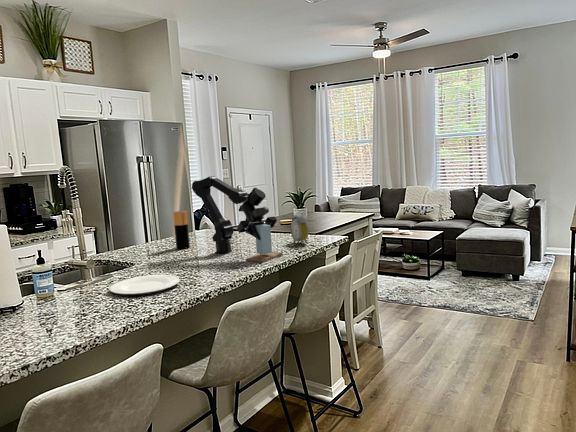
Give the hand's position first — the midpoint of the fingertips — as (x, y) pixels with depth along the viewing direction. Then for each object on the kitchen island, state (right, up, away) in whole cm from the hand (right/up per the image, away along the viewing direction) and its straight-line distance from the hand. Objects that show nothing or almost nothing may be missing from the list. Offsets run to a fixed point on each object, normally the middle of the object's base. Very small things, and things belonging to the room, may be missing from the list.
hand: (265, 238), depth 204 cm
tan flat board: (0, -9, +2) cm, 9 cm away
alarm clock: (+17, -4, +34) cm, 38 cm away
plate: (-42, -17, -36) cm, 58 cm away
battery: (-46, -7, +39) cm, 60 cm away
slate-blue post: (0, -6, +2) cm, 7 cm away
